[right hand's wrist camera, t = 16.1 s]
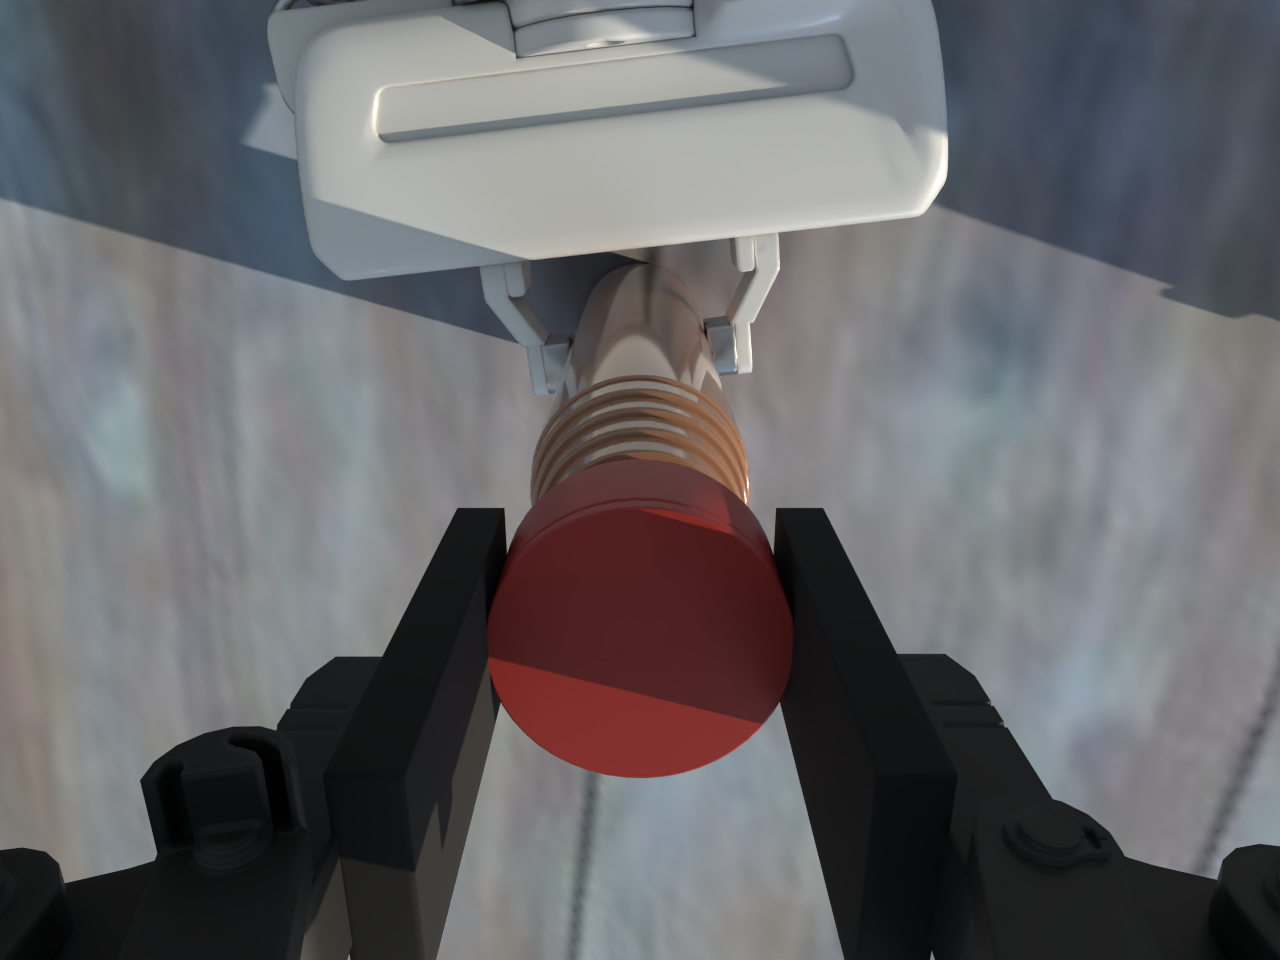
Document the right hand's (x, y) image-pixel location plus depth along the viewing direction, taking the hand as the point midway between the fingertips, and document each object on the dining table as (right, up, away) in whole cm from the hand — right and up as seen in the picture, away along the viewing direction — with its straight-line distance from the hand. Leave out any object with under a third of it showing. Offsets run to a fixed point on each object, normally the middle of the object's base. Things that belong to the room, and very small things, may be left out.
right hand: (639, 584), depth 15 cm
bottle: (0, +8, +23) cm, 24 cm away
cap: (0, -1, -2) cm, 2 cm away
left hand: (0, +5, +17) cm, 17 cm away
